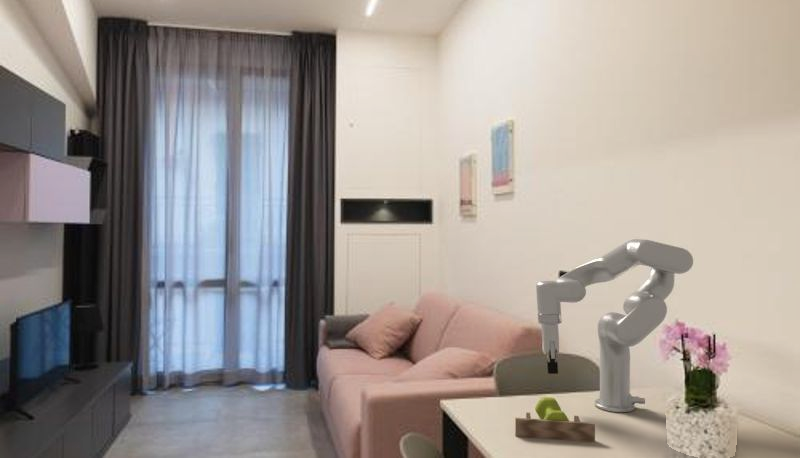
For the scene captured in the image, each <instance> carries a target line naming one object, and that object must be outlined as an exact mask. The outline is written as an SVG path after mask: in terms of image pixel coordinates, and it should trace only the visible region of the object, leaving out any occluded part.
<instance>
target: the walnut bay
mask: <svg viewBox="0 0 800 458" xmlns="http://www.w3.org/2000/svg"><path fill="white" fill-rule="evenodd" d="M514 424H515V427H514V428H515V432H514V434H515V437H520V438H521V437H522V438H534V439H535V438H536V439H550V440H561V441H562V440H563V441H576V442H577V441H578V442H592V443H595V442H596V423H595V422H585V421H581V420H580V417H579V415H573V420H569V421H559V420H544V419H540V418H532V417H531V412H525V417H515V423H514Z"/></svg>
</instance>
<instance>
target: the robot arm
mask: <svg viewBox="0 0 800 458" xmlns="http://www.w3.org/2000/svg"><path fill="white" fill-rule="evenodd" d="M640 265H641V266H646V267H649V268H650V273H649V276H648V277H647V279H645V281H644V282H643V283H642V284H640V286H638V288H636V289H635V290H634V291H633V292H632V293H630V294H629V296H627V298H625V300H624V302H623V306H622V307H623V308H622V309H623V311H624V313H625V314H626V315H625V314H621V313H619V312H614V311H612V312H607V313H605V314H603V315H602V316H600V319H598V324H597V334H598V335H597V336H598V341H599V343H598V344H599V398H597V399H595V400H594V405H595V407H596V408H598V409H601V410H604V411H608V412H613V413H628V412H632V411H634V410H635V406H636V404H639V405H645V404H646V398H645V397H640V396H638V395H635V396H633V395H632V393H630V392H631V387H630V386H631V352H630V348H631V347H634V346H636V345H638V344H640V343H641V342H643V340H645V338H647V337H648V336H649V335H651V334H652V332H653V331H655V330H656V329H657V327H659V326H660V325H661V324H662V323H663V322H664V320H665V319H666V317H667V314H668V307H667V304H666V301H665V300H666V299H667V298H668V297H669V296H670V295H671V293H672V291H673V289H674V286H675V274H678V275H679V274H680V275H681V274H685V273H688V272H689V271H690V270H692V269H691V268H693V265H694V258H693V256H692V253H690V251H689V250H688V249H685V248H682V247H679V246H675V245H672V244H667V243H663V242H658V241H655V240H649V239H642V238H641V239H639V238H634V239H630V240H627V241H626V242H624V243H622V244H621V245H618V246H617V247H616V248H614V249H612V250H610V251H609V252H607V253H605V254H604V255H601V256H600V257H598V258H596V259H593V260H591V261H589V262H587V263H584V264H582V265H579V266H577V267H575V268H574V269H573V268H572V269H571V270H569V271H568V272H566V273H565V274H563V275H561V276H559V277H558V278H557V279H555V280H542V281H538V282H537V283H536V288H535V289H536V291H535V292H536V303H537V304H536V306H537V320H538V321H537V322H538V324H540V325H541V345H542V346H541V347H542V349H541V350H542V352H543V354H544V355H547V356H546V358H547V360H546V363H547V366H546V367H547V374H549V375H550V374H551V375H555V374H556V375H557V374H558V373H559V370H558V369H559V368H558V367H559V365H558V364H559V363H558V359H557V357H558V356H557V355H558V354H559V353H560V336H559V334H560V333H559V324H562V309H561V308H562V306H561V303H571V304H572V303H578V302H581V301H582V300H584V299H585V297H586V294H587V289H586V287H588V286H592V285H594V284H600V283H606V282H610V281H615V279H617V278H618V277H620V276H622V275H623V274H625V273H627V272H629V271H630V270H632V269H635V268H636V267H637V266H640Z"/></svg>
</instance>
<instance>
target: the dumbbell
mask: <svg viewBox="0 0 800 458" xmlns="http://www.w3.org/2000/svg"><path fill="white" fill-rule="evenodd" d="M534 409H535V412H536V414H537V416H538V419H544V420H559V421H570V420H569V418H568V416H567V415H566V413H565V411H563V410H562V408H561V405H559V403H558V401H557V400H556V399H555V398H554V397H548V396H546V397H540V398H539V400H538V402H537V404H536V405H535V408H534Z"/></svg>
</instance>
